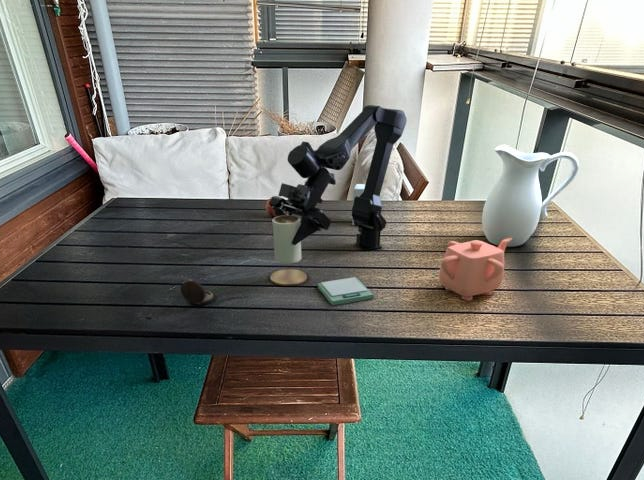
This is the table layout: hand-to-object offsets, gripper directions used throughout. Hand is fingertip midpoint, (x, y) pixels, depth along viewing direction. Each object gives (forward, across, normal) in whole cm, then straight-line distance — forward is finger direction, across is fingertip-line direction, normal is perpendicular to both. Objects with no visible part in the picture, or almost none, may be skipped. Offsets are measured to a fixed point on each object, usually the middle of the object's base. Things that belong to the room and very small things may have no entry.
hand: (283, 240), depth 126 cm
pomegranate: (-17, -45, +33) cm, 59 cm away
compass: (+25, -6, -9) cm, 27 cm away
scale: (+4, +17, +11) cm, 21 cm away
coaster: (+7, 0, +9) cm, 11 cm away
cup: (+3, 0, +5) cm, 5 cm away
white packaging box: (-28, -16, +45) cm, 55 cm away
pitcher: (-42, +32, +58) cm, 78 cm away
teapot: (-13, +40, +29) cm, 51 cm away
